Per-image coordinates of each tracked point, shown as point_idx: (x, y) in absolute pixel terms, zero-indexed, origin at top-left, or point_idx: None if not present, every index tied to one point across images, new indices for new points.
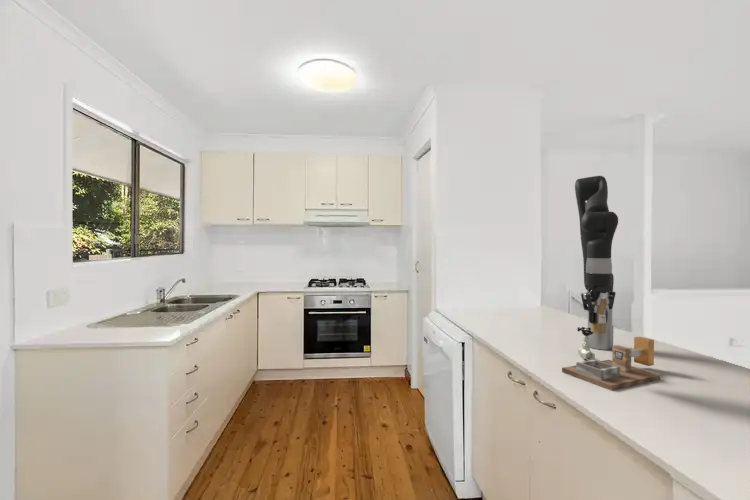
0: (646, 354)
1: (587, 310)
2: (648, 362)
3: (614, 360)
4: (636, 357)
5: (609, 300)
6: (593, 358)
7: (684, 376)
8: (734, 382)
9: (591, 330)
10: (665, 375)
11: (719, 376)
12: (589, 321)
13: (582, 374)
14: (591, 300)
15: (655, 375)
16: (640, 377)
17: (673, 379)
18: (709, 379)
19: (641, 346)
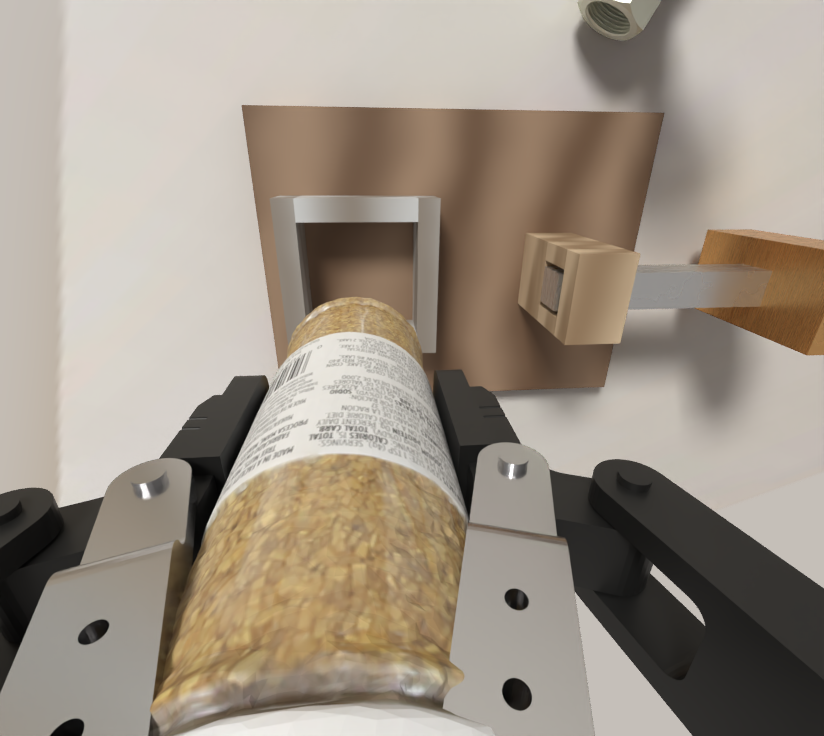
0: (733, 311)
1: (64, 518)
2: (699, 309)
3: (540, 252)
4: (726, 248)
5: (698, 692)
6: (618, 36)
7: (717, 386)
8: (772, 474)
9: (292, 337)
10: (671, 353)
11: (816, 427)
12: (235, 378)
13: (271, 250)
14: (137, 673)
15: (580, 383)
16: (496, 378)
17: (640, 393)
18: (747, 434)
19: (777, 294)
